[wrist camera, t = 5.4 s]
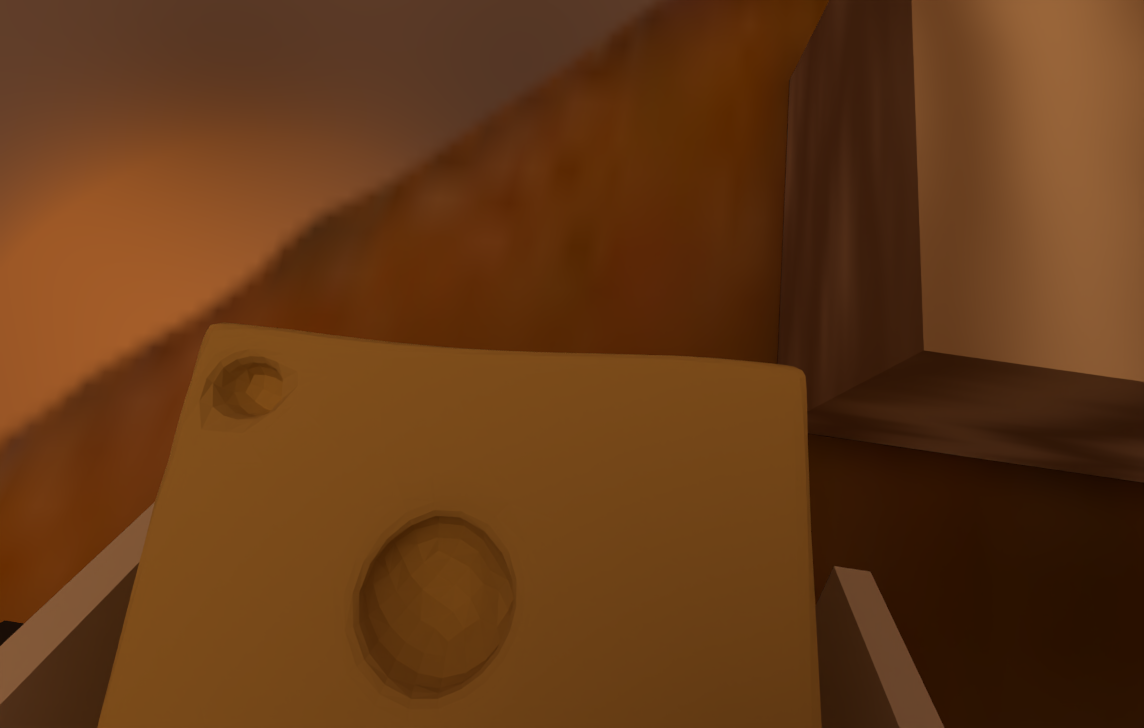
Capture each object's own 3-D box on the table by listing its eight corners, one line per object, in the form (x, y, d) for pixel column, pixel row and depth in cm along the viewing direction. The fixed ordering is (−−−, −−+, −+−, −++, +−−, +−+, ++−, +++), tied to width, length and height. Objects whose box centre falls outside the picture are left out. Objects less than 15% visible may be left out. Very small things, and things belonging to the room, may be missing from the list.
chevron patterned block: (1150, 128, 22) (1456, -86, 15) (1215, 493, 18) (1684, 458, 11) (789, 79, 23) (905, -154, 15) (774, 428, 19) (924, 350, 11)
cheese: (306, 802, 16) (-96, 1218, 6) (377, 410, 19) (186, 273, 9) (694, 834, 16) (910, 1303, 6) (699, 436, 19) (845, 325, 9)
